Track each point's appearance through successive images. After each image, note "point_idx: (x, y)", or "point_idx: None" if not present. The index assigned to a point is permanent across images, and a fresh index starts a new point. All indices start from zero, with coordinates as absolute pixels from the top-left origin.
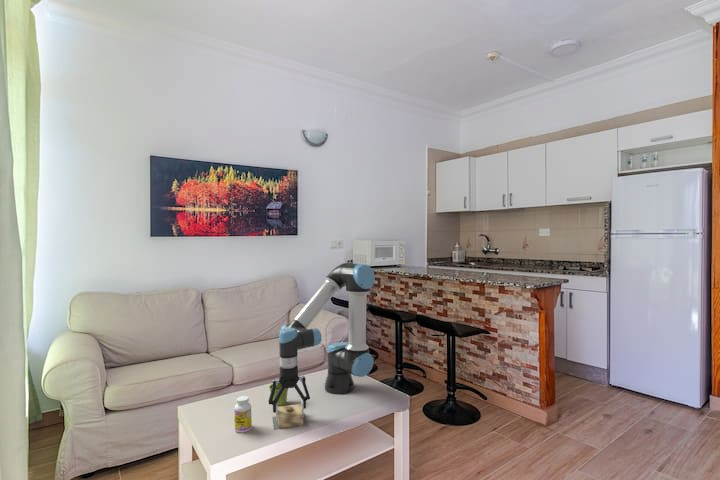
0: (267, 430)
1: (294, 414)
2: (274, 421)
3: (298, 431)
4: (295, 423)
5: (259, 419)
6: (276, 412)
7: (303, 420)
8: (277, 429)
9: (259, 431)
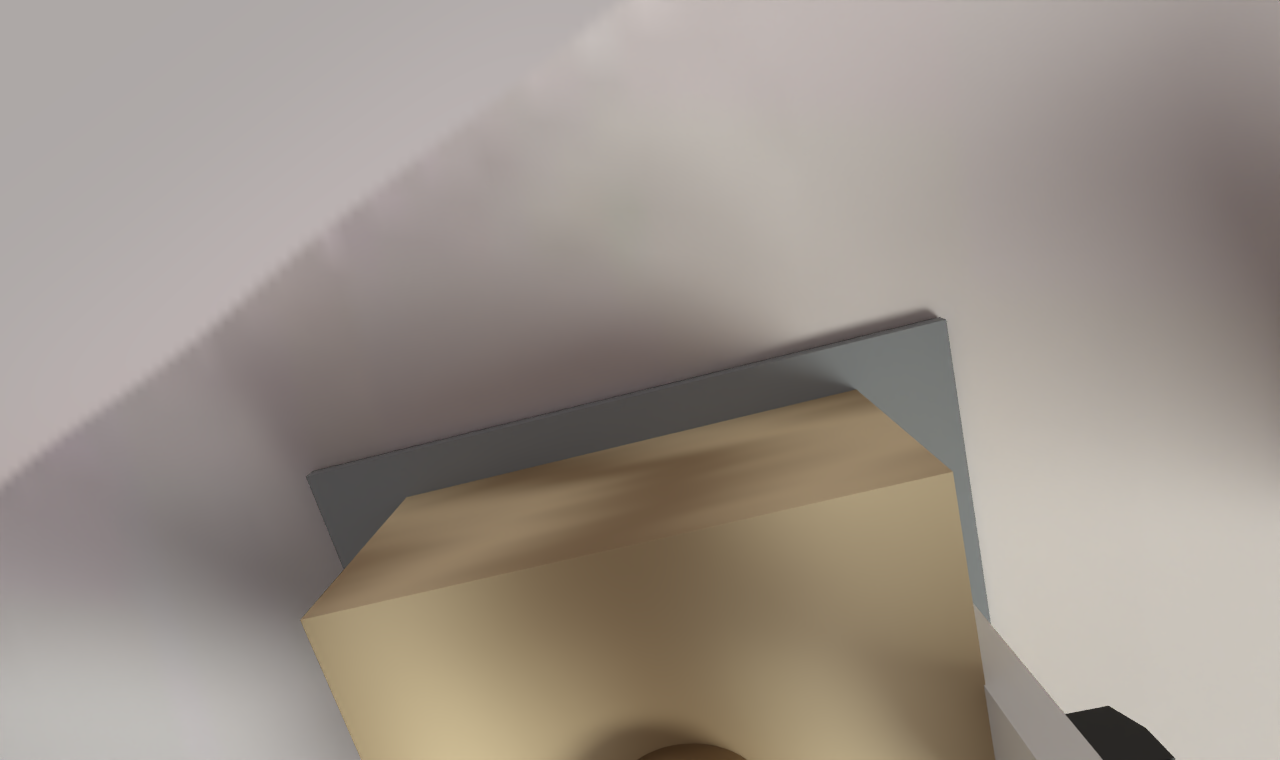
0: (1065, 336)
1: (522, 596)
2: None
3: (451, 265)
4: (535, 479)
5: (1231, 732)
6: (1039, 696)
7: None
8: (874, 336)
9: (1222, 305)
